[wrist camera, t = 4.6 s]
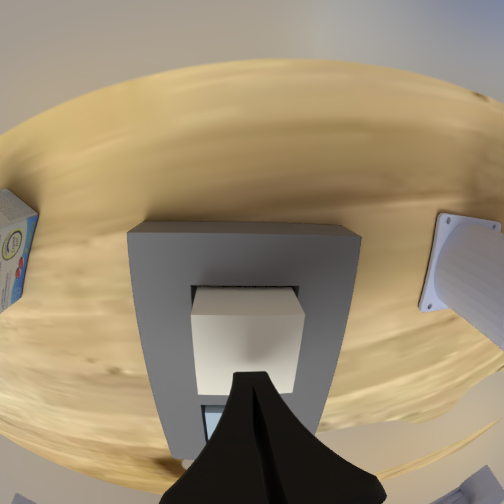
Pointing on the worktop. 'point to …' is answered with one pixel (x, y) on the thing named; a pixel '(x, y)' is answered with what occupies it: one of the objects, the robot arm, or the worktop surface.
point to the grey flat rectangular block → (236, 274)
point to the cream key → (245, 335)
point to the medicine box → (14, 245)
